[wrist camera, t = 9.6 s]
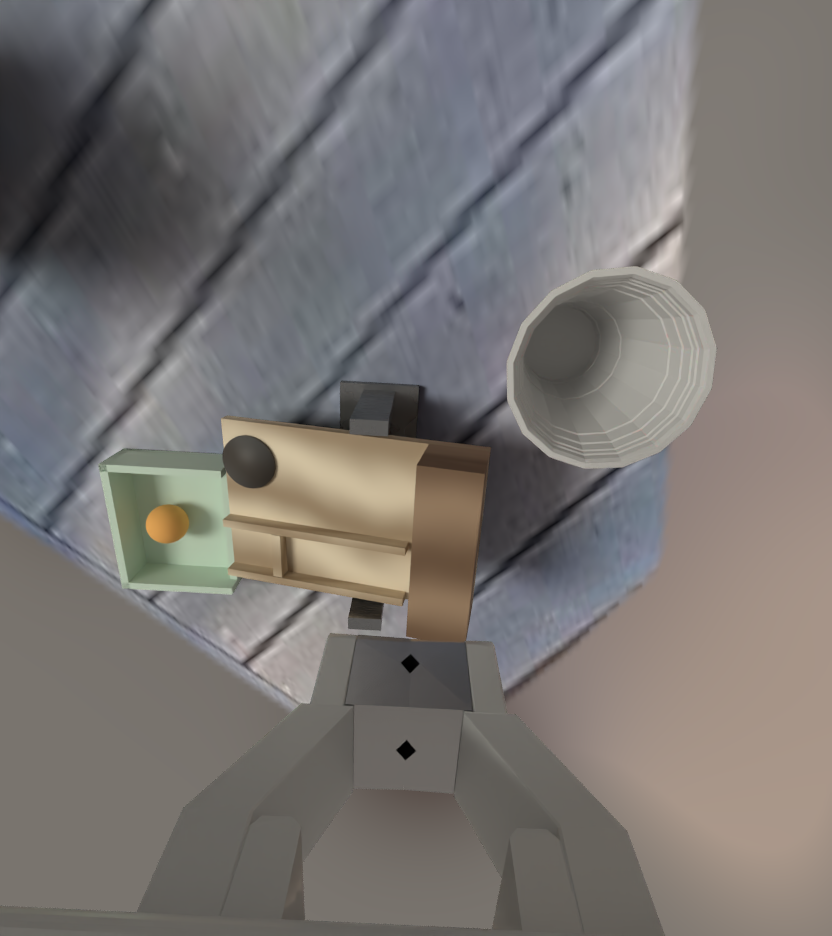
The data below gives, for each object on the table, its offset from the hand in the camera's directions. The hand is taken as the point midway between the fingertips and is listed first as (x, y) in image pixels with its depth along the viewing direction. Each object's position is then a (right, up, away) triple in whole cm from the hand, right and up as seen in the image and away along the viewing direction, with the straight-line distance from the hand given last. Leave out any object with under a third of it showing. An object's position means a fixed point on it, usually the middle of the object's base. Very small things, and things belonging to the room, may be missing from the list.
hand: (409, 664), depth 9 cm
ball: (-20, -1, +32) cm, 38 cm away
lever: (-5, 0, +28) cm, 28 cm away
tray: (-20, 0, +34) cm, 39 cm away
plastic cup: (+11, +13, +28) cm, 33 cm away
